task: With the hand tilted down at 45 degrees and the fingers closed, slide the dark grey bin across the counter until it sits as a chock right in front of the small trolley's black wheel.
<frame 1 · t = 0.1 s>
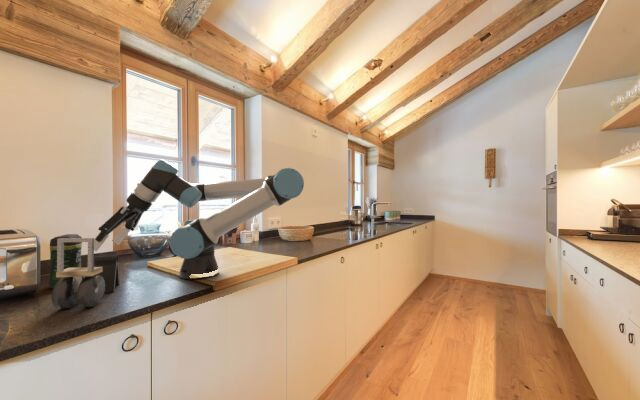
hand: (104, 245, 98), 15 cm above the countertop, tool tilted 35°, fingers open, 13 cm apart
dark grey bin: (106, 290, 96), on the countertop
trolley: (79, 306, 81), on the countertop
trolley deck: (80, 271, 81), point 10 cm above the countertop
coffee jar: (66, 285, 100), on the countertop
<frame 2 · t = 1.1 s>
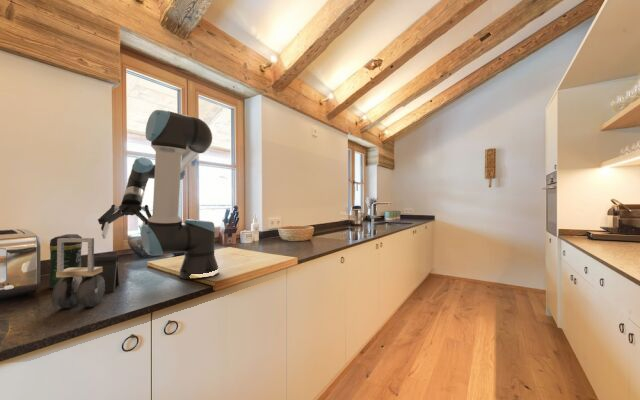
hand: (123, 236, 113), 16 cm above the countertop, tool tilted 45°, fingers open, 12 cm apart
nothing on the countertop moved.
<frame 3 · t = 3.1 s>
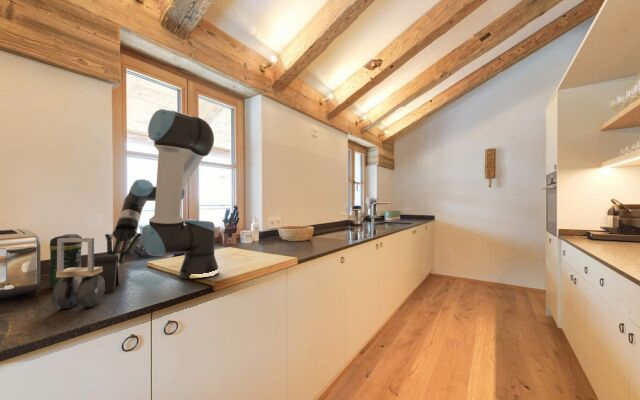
hand: (114, 270, 103), 5 cm above the countertop, tool tilted 45°, fingers closed
nothing on the countertop moved.
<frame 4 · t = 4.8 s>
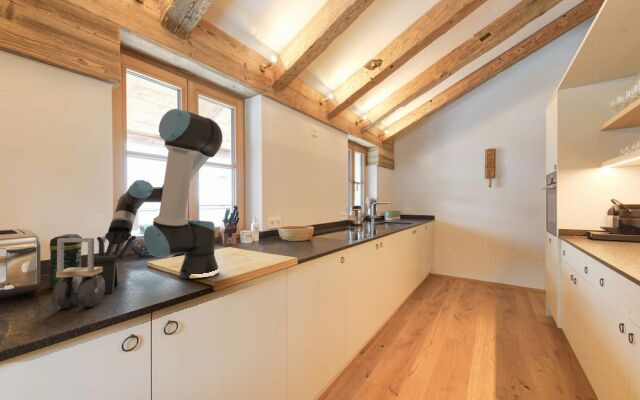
hand: (105, 276, 97), 5 cm above the countertop, tool tilted 45°, fingers closed
dark grey bin: (105, 291, 95), on the countertop, touching gripper
everything else where it was.
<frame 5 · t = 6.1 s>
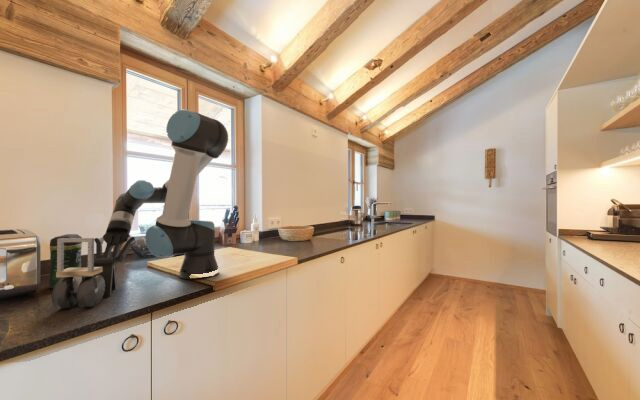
hand: (103, 278, 93), 5 cm above the countertop, tool tilted 45°, fingers closed
dark grey bin: (102, 294, 92), on the countertop, touching gripper
everything else where it was.
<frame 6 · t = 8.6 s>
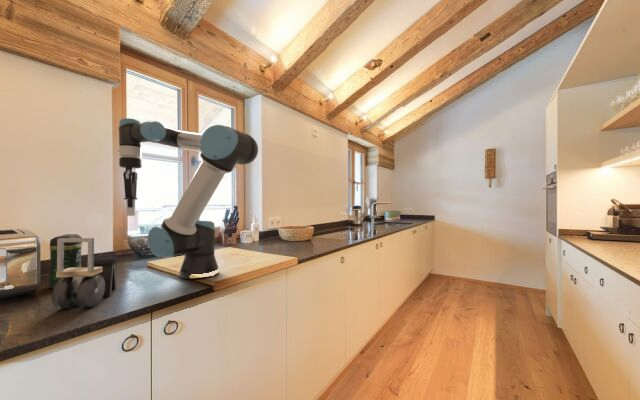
hand: (130, 215, 112), 25 cm above the countertop, tool pointing down, fingers closed
dark grey bin: (102, 294, 92), on the countertop
everything else where it was.
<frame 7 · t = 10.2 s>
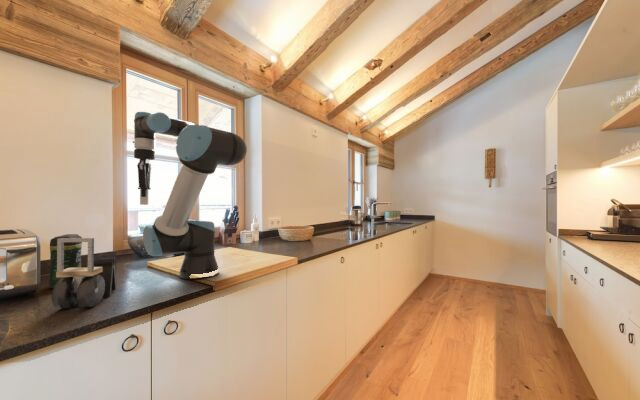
hand: (144, 204, 117), 29 cm above the countertop, tool pointing down, fingers closed
nothing on the countertop moved.
at the end: dark grey bin inside the target area (2.1 cm from its centre), on the countertop; dark grey bin tilted 0°; dark grey bin moved 4.8 cm from its start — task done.
